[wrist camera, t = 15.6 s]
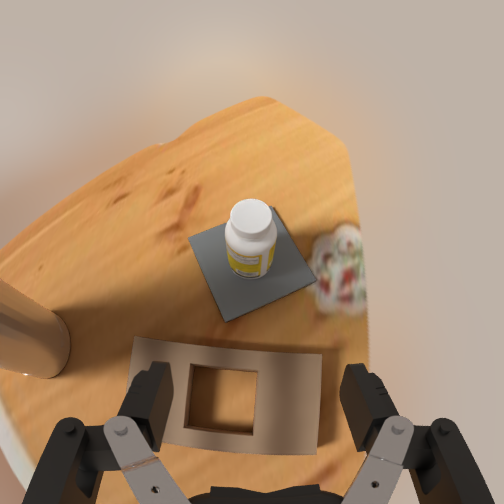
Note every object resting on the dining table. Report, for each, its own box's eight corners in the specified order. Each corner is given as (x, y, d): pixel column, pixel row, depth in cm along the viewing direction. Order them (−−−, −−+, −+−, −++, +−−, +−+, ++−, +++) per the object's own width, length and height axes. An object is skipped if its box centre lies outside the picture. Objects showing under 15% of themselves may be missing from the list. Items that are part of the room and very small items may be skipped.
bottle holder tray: (315, 357, 33) (322, 354, 30) (310, 450, 27) (316, 454, 25) (142, 341, 33) (134, 335, 30) (131, 430, 28) (122, 432, 25)
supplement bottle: (256, 233, 39) (260, 184, 30) (280, 266, 37) (291, 223, 28) (219, 253, 38) (213, 207, 29) (242, 288, 36) (242, 250, 27)
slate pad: (225, 322, 34) (225, 321, 34) (188, 239, 39) (188, 237, 38) (315, 281, 37) (316, 280, 36) (270, 207, 42) (271, 205, 41)
